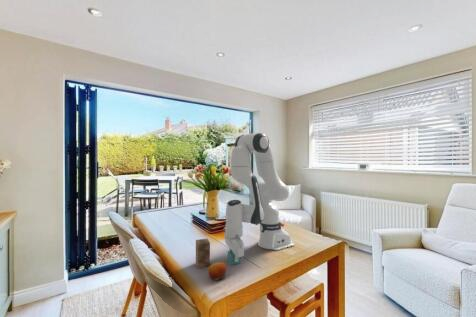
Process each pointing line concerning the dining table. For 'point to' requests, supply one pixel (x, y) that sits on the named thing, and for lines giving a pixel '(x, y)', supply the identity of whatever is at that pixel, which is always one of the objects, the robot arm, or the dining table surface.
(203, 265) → the block
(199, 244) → the tower top
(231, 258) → the teal block
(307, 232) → the dining table surface
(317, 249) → the dining table surface
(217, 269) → the fruit
